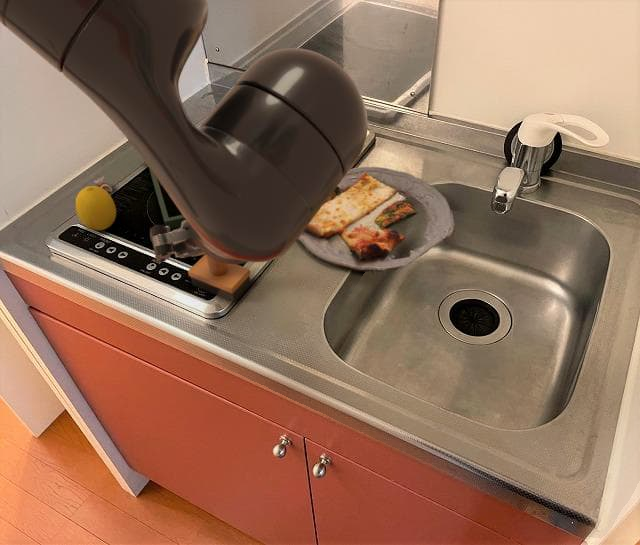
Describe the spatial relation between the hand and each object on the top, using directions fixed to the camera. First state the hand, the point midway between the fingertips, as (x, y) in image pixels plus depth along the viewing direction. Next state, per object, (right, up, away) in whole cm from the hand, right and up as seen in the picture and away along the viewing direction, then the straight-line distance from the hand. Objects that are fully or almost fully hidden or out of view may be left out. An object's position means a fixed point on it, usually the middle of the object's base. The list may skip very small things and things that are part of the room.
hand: (223, 237), depth 60 cm
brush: (-3, -6, +19) cm, 20 cm away
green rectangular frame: (-10, +10, +37) cm, 39 cm away
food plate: (+18, +4, +29) cm, 34 cm away
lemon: (-24, +3, +29) cm, 38 cm away
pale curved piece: (-26, +9, +36) cm, 45 cm away
